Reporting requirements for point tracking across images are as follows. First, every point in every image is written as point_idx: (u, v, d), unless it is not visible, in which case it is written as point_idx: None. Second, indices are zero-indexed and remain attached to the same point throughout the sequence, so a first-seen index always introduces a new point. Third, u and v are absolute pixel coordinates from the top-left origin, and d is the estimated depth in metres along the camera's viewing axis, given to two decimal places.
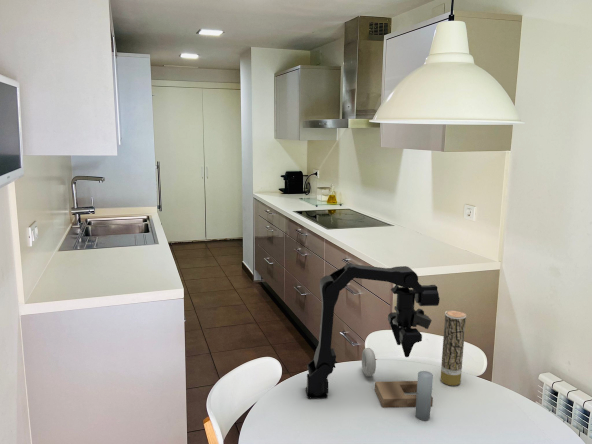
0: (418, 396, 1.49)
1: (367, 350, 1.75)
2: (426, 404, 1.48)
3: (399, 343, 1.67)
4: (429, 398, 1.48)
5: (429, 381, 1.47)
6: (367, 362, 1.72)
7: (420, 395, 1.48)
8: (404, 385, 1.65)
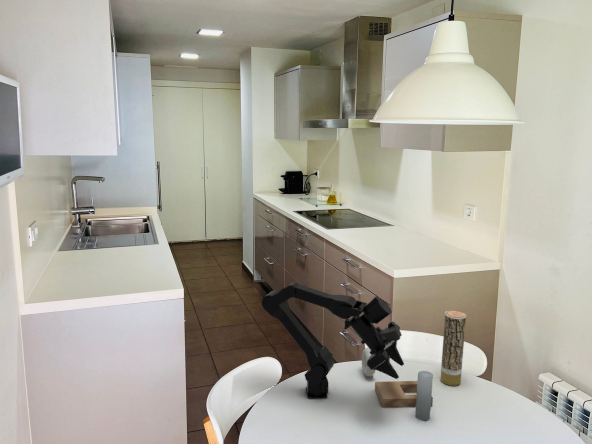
0: (418, 396, 1.49)
1: (367, 350, 1.75)
2: (426, 404, 1.48)
3: (401, 363, 1.56)
4: (429, 398, 1.48)
5: (429, 381, 1.47)
6: None
7: (420, 395, 1.48)
8: (404, 385, 1.65)
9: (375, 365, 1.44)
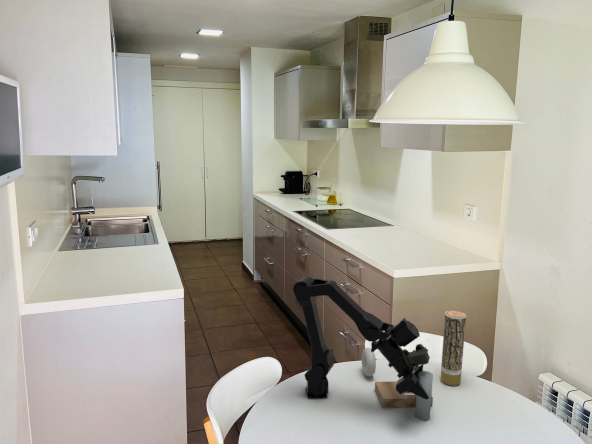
0: (418, 396, 1.49)
1: (367, 350, 1.75)
2: (426, 404, 1.48)
3: None
4: (429, 398, 1.48)
5: (429, 381, 1.47)
6: (367, 362, 1.72)
7: None
8: None
9: (404, 390, 1.42)
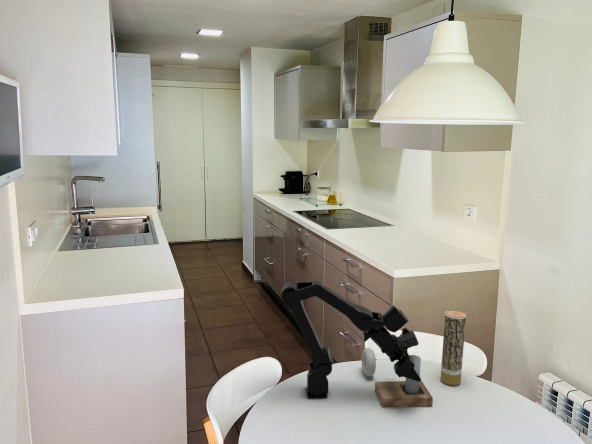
0: (409, 379, 1.59)
1: (367, 350, 1.75)
2: (417, 385, 1.59)
3: None
4: None
5: (419, 364, 1.58)
6: (367, 362, 1.72)
7: None
8: (404, 385, 1.65)
9: (404, 372, 1.51)
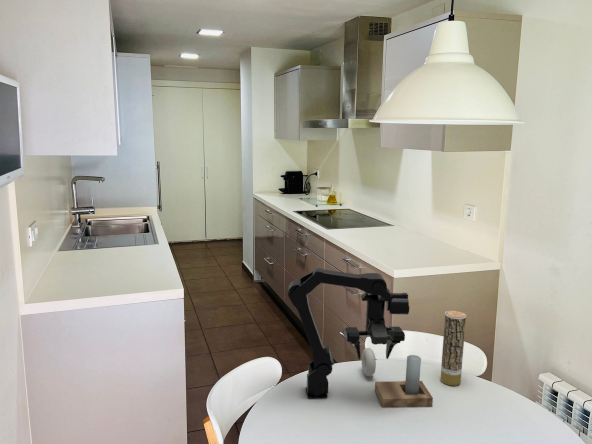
0: (409, 379, 1.59)
1: (367, 350, 1.75)
2: (417, 385, 1.59)
3: (386, 356, 1.61)
4: (418, 379, 1.59)
5: (419, 364, 1.58)
6: (367, 362, 1.72)
7: (410, 378, 1.59)
8: (404, 385, 1.65)
9: (345, 335, 1.59)
